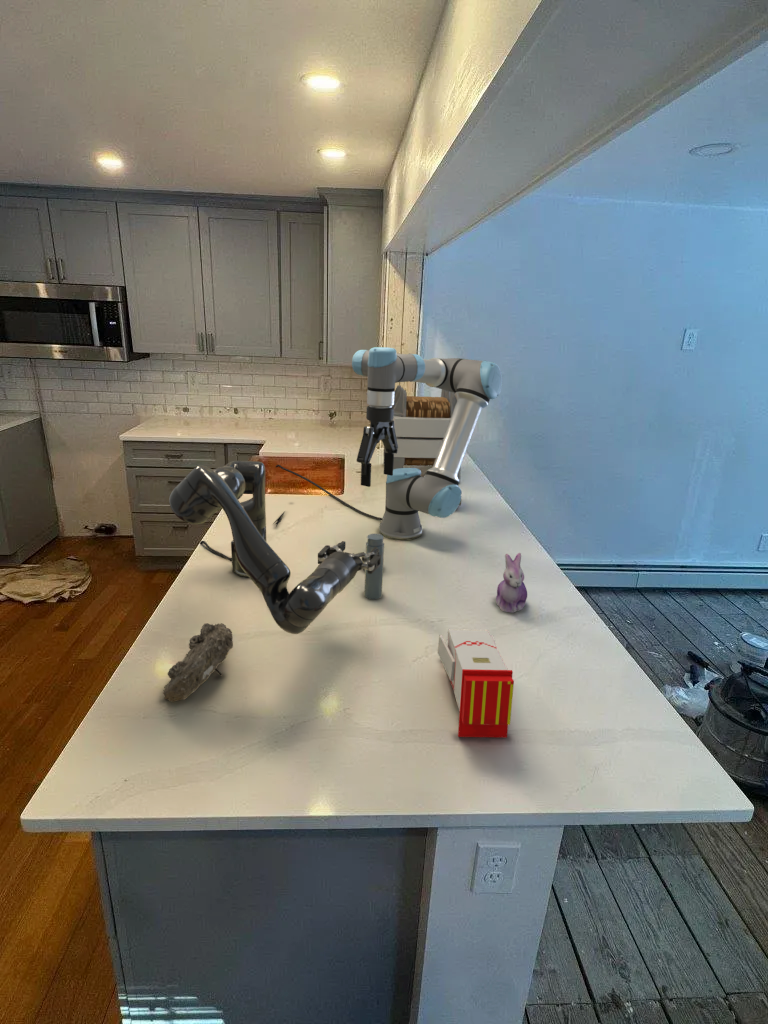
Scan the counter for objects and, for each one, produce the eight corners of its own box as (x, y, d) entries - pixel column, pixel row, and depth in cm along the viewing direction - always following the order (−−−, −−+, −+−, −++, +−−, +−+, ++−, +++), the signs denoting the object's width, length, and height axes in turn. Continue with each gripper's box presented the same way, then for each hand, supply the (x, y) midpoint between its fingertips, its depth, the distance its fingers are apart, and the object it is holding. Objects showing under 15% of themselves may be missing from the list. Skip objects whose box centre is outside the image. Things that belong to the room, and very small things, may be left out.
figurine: (509, 617, 148) (516, 565, 143) (485, 599, 156) (491, 550, 151) (537, 610, 152) (544, 559, 147) (512, 593, 161) (519, 544, 156)
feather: (291, 505, 226) (294, 501, 225) (275, 529, 199) (277, 524, 199) (288, 503, 226) (290, 499, 225) (270, 526, 199) (273, 522, 199)
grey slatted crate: (382, 463, 289) (386, 382, 275) (445, 464, 293) (451, 384, 279) (390, 482, 257) (394, 392, 243) (460, 483, 261) (468, 394, 247)
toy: (488, 613, 130) (523, 677, 101) (484, 667, 133) (517, 744, 104) (435, 612, 130) (455, 676, 101) (432, 666, 133) (451, 743, 103)
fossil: (187, 626, 130) (233, 595, 125) (216, 654, 133) (262, 625, 128) (141, 695, 110) (194, 662, 105) (176, 726, 113) (229, 696, 108)
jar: (372, 589, 160) (374, 531, 154) (385, 595, 157) (388, 536, 151) (360, 595, 156) (362, 536, 150) (374, 601, 153) (376, 541, 147)
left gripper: (364, 564, 122) (388, 538, 137) (304, 553, 126) (333, 528, 141) (363, 595, 125) (386, 566, 139) (304, 583, 129) (333, 556, 143)
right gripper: (389, 399, 168) (385, 468, 175) (344, 410, 147) (343, 488, 154) (412, 402, 165) (407, 472, 172) (370, 413, 144) (367, 493, 151)
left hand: (360, 547), depth 140 cm, fingers open, 8 cm apart
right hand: (377, 480), depth 163 cm, fingers open, 13 cm apart
